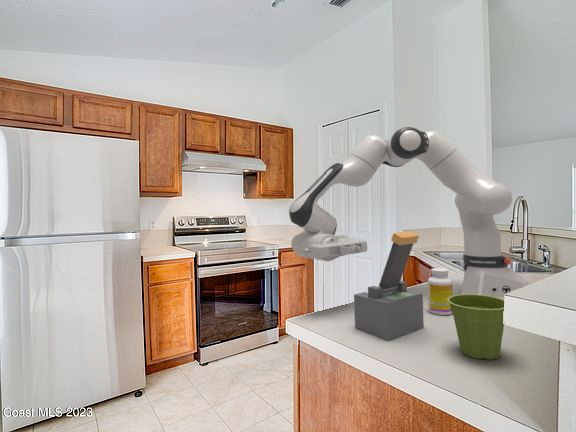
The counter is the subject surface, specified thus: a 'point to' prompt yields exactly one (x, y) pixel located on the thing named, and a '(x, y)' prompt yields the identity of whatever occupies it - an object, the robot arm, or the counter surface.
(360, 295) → the box
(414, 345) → the counter surface
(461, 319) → the plant pot
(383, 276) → the lever
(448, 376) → the counter surface
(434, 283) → the supplement bottle
